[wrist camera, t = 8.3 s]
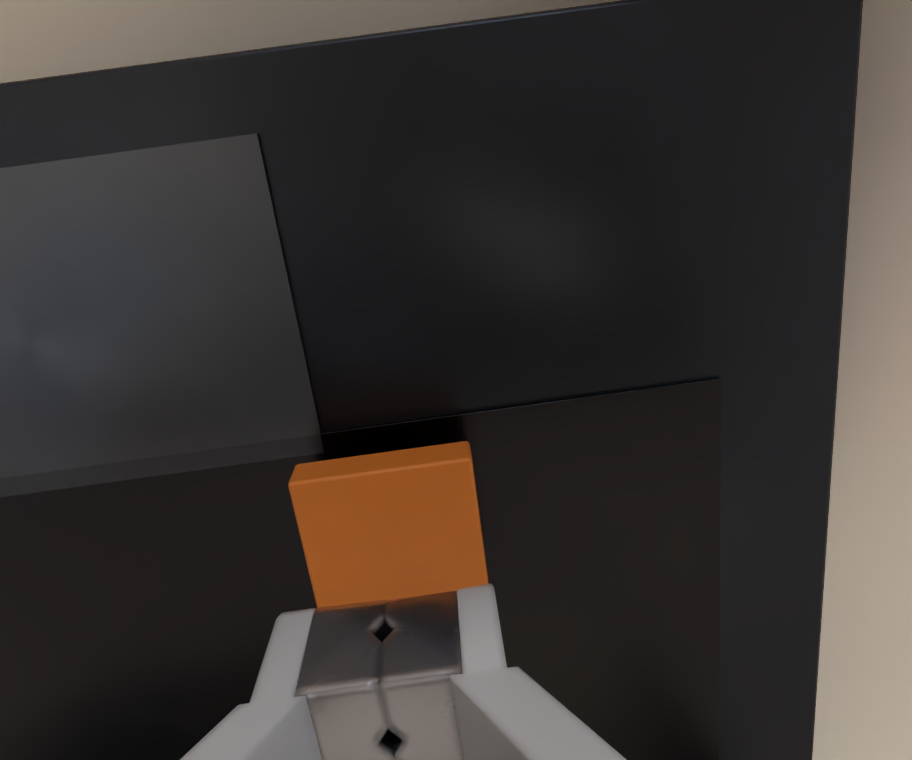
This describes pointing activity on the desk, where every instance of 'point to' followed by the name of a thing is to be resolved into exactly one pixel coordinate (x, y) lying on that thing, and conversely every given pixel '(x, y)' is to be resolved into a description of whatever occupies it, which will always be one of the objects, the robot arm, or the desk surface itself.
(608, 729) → the laptop
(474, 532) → the orange block
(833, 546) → the desk surface
